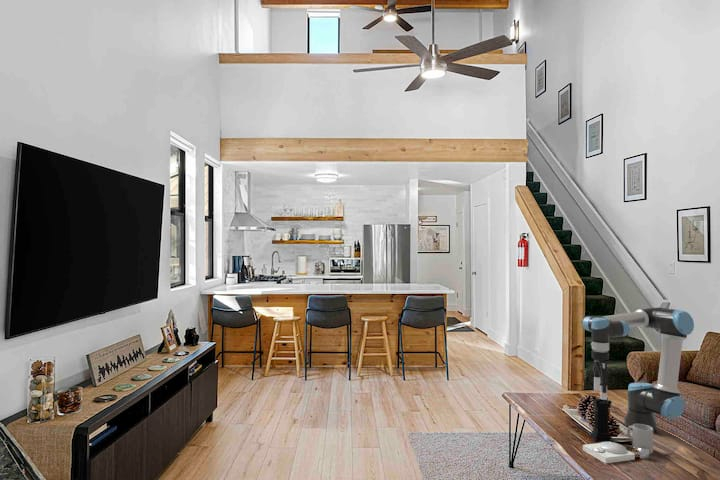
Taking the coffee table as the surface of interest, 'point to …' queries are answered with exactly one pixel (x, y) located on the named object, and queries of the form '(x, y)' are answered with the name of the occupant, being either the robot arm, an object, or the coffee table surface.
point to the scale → (609, 452)
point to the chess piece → (601, 420)
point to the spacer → (643, 452)
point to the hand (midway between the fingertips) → (600, 394)
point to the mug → (641, 436)
